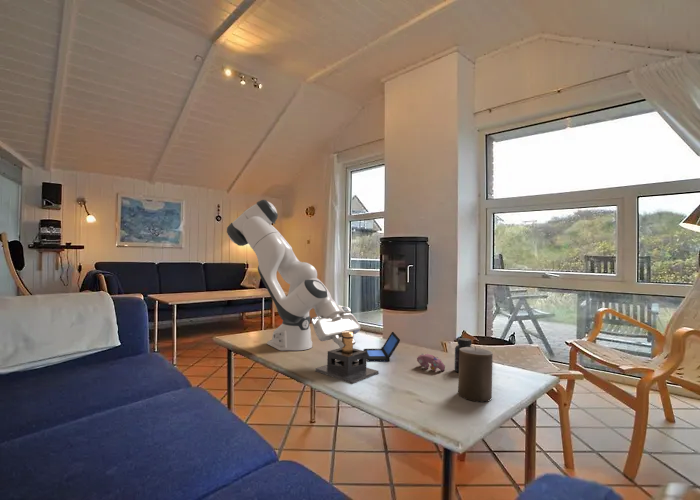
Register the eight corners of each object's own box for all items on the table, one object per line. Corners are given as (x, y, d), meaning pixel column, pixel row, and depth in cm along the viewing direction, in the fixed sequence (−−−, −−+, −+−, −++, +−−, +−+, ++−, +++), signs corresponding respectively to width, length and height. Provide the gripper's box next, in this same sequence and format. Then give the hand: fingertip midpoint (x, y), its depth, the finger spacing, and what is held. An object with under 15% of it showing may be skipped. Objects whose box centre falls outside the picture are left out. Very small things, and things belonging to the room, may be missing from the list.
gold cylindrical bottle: (338, 365, 124) (339, 332, 124) (346, 363, 127) (347, 330, 127) (347, 368, 121) (348, 334, 121) (355, 365, 124) (355, 332, 125)
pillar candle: (474, 404, 99) (475, 351, 99) (451, 391, 108) (452, 343, 108) (499, 399, 103) (500, 349, 103) (475, 388, 112) (476, 341, 112)
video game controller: (417, 370, 133) (414, 356, 131) (423, 363, 136) (419, 348, 134) (441, 377, 126) (438, 361, 124) (446, 368, 129) (443, 353, 127)
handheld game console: (363, 351, 153) (363, 330, 154) (392, 351, 154) (393, 331, 155) (367, 362, 138) (367, 339, 138) (400, 362, 139) (400, 339, 139)
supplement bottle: (475, 375, 124) (475, 341, 124) (455, 373, 125) (455, 340, 126) (472, 369, 131) (472, 337, 131) (453, 367, 132) (454, 336, 133)
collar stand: (315, 371, 125) (315, 350, 125) (341, 362, 135) (342, 343, 135) (352, 383, 113) (353, 360, 113) (378, 373, 123) (378, 352, 124)
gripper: (313, 312, 121) (332, 345, 115) (352, 307, 137) (370, 336, 130) (305, 323, 124) (323, 356, 118) (343, 317, 140) (361, 345, 133)
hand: (348, 345), depth 124 cm, fingers closed on gold cylindrical bottle, 4 cm apart
